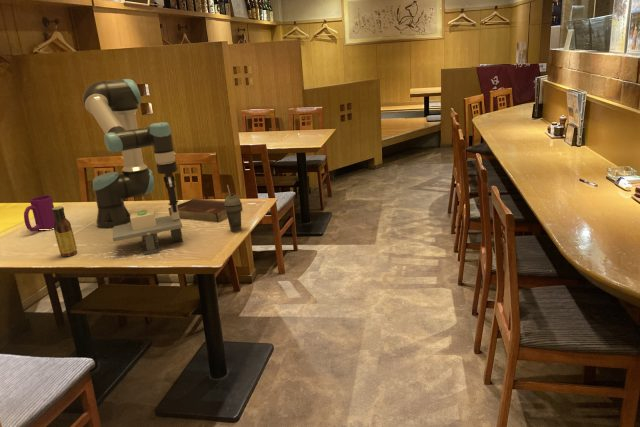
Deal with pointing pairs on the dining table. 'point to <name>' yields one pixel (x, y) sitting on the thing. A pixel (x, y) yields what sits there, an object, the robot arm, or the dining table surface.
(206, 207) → the hardback book
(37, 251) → the dining table surface
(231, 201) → the beverage cup
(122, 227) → the instrument plate
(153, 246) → the pivot stand
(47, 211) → the mug
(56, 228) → the sauce bottle
